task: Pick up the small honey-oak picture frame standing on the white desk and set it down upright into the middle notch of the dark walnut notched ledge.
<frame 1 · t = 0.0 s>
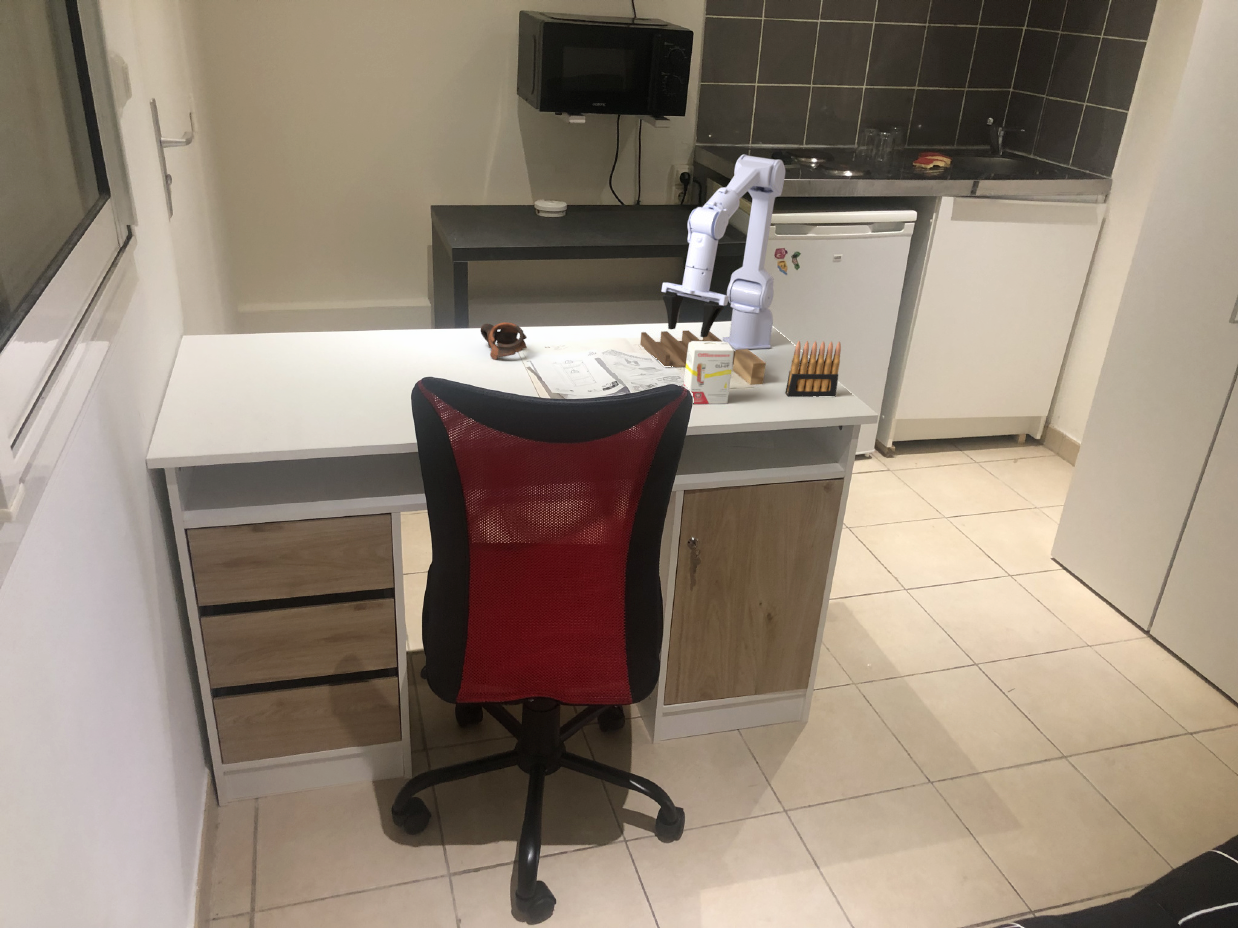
hand: (687, 332, 200), 11 cm above the table, tool pointing down, fingers open, 7 cm apart
notched ledge: (686, 354, 219), on the table
ammunition clip: (810, 396, 201), on the table
ink box: (704, 400, 195), on the table
oak frame: (747, 377, 209), on the table
pottery mug: (502, 354, 211), on the table
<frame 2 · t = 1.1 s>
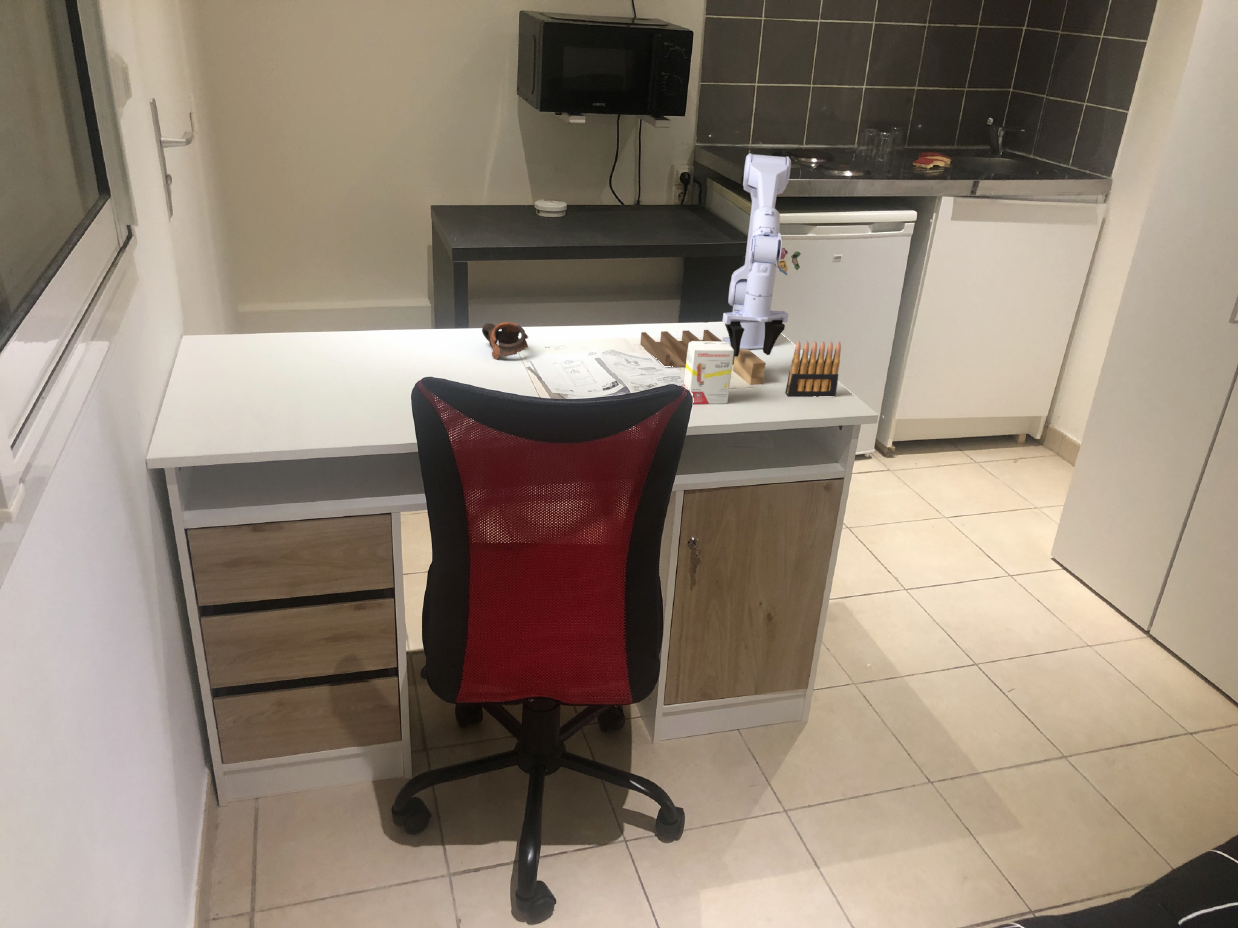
hand: (750, 354, 206), 5 cm above the table, tool pointing down, fingers open, 7 cm apart
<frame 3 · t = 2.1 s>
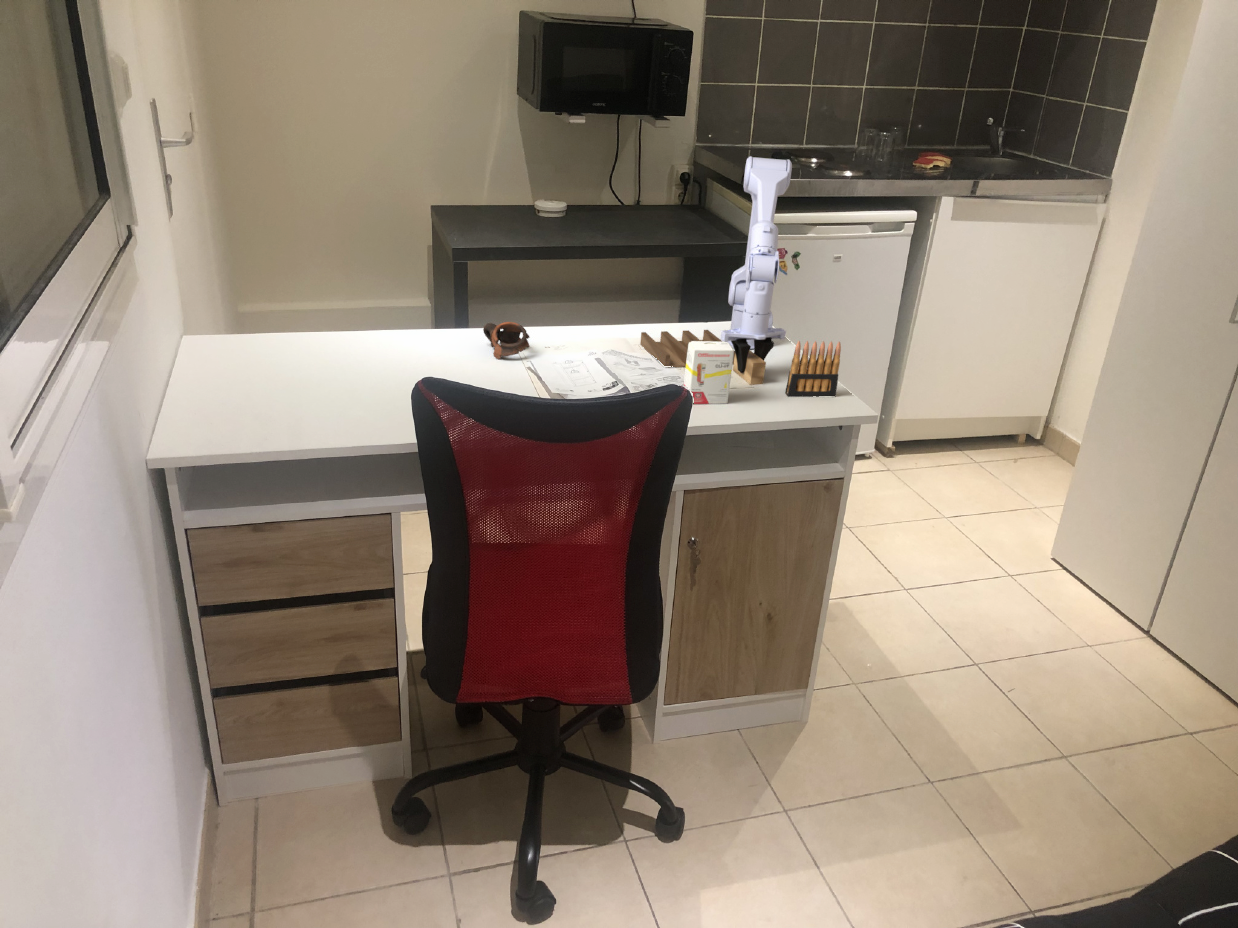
hand: (748, 371, 208), 1 cm above the table, tool pointing down, fingers closed on oak frame, 3 cm apart
oak frame: (747, 377, 209), on the table, touching gripper
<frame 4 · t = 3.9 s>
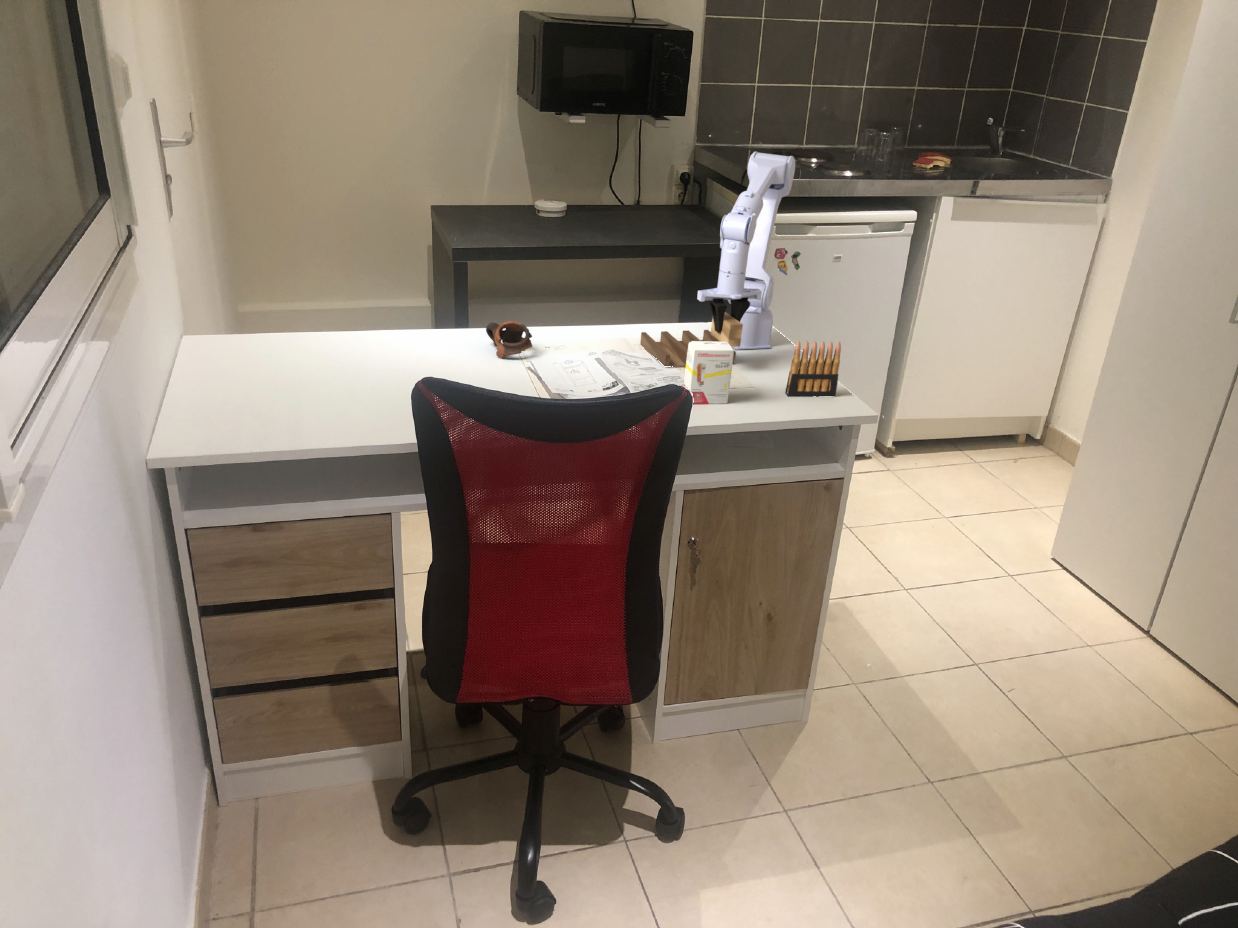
hand: (725, 331, 210), 8 cm above the table, tool pointing down, fingers closed on oak frame, 3 cm apart
oak frame: (725, 340, 210), point 6 cm above the table, touching gripper
when the fingers open (5 cm above the table, at t = 5.5 s): oak frame drops 2 cm, resting on notched ledge.
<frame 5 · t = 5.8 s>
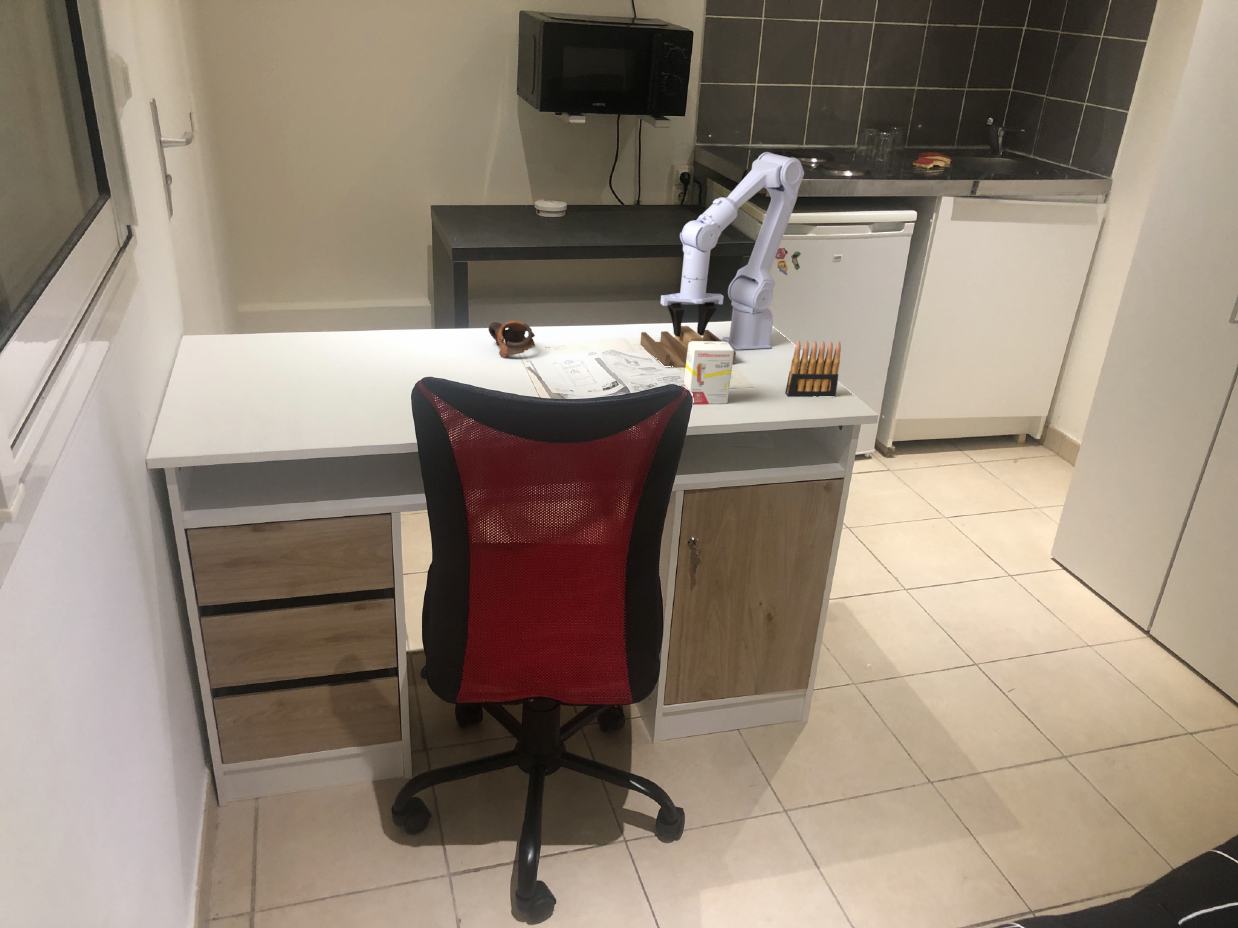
hand: (688, 334, 217), 5 cm above the table, tool pointing down, fingers open, 5 cm apart
oak frame: (687, 352, 219), resting on notched ledge
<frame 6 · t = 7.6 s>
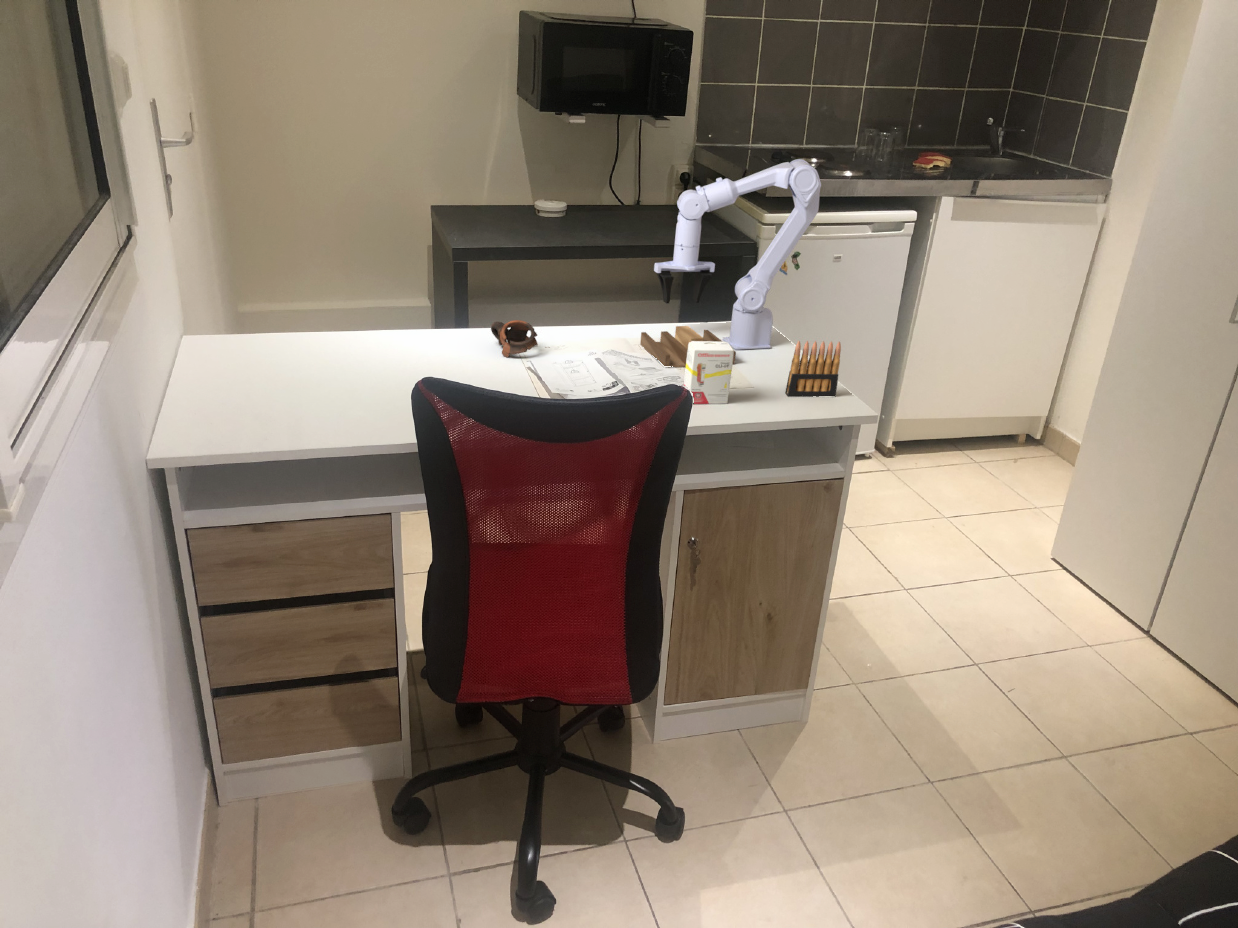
hand: (681, 301, 225), 9 cm above the table, tool pointing down, fingers open, 7 cm apart
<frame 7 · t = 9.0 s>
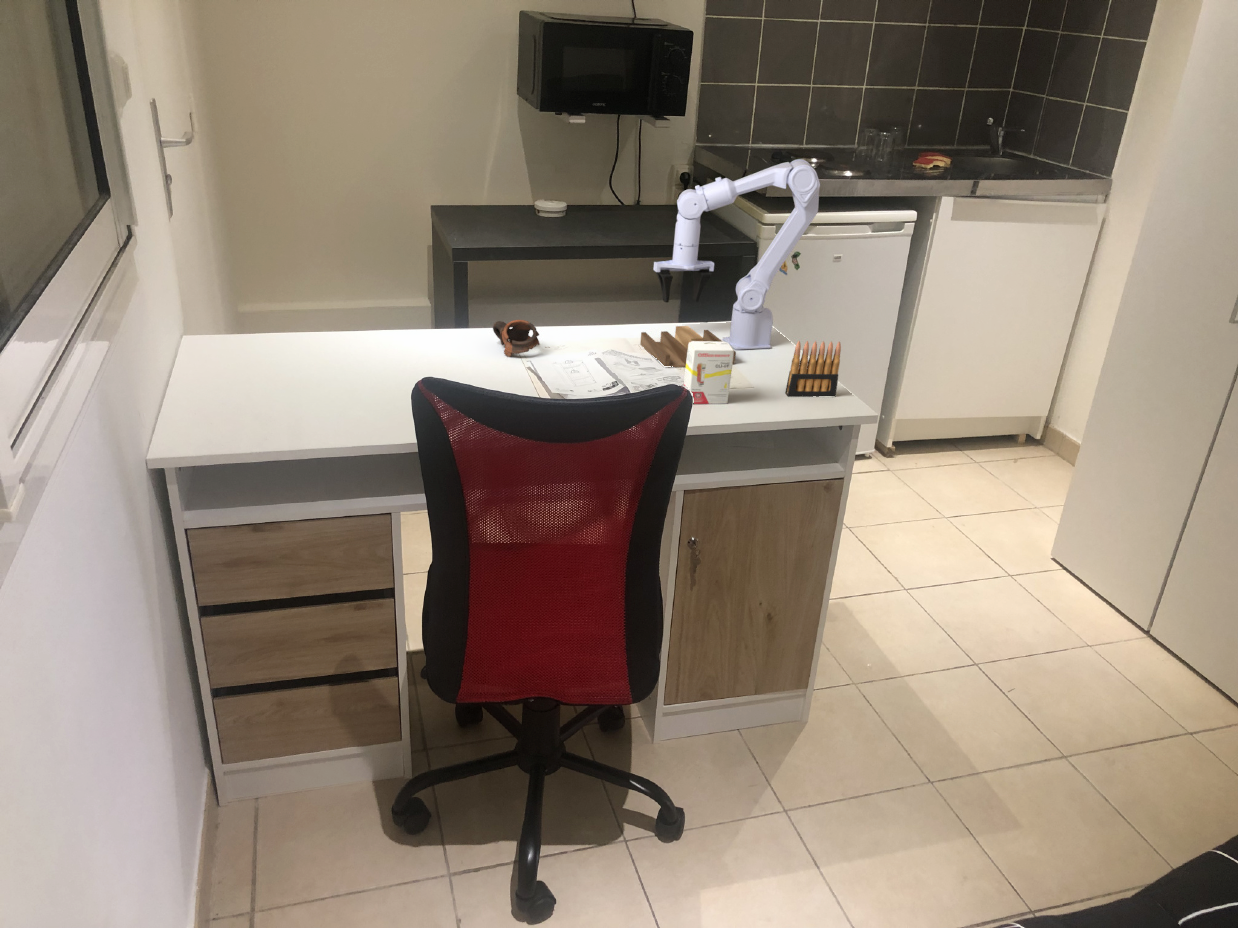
hand: (680, 301, 225), 9 cm above the table, tool pointing down, fingers open, 7 cm apart
at the end: oak frame inside the target area on the notched ledge (0.5 cm from its centre), point 0.5 cm above the notched ledge's base; oak frame tilted 0°; the gripper is holding nothing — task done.
